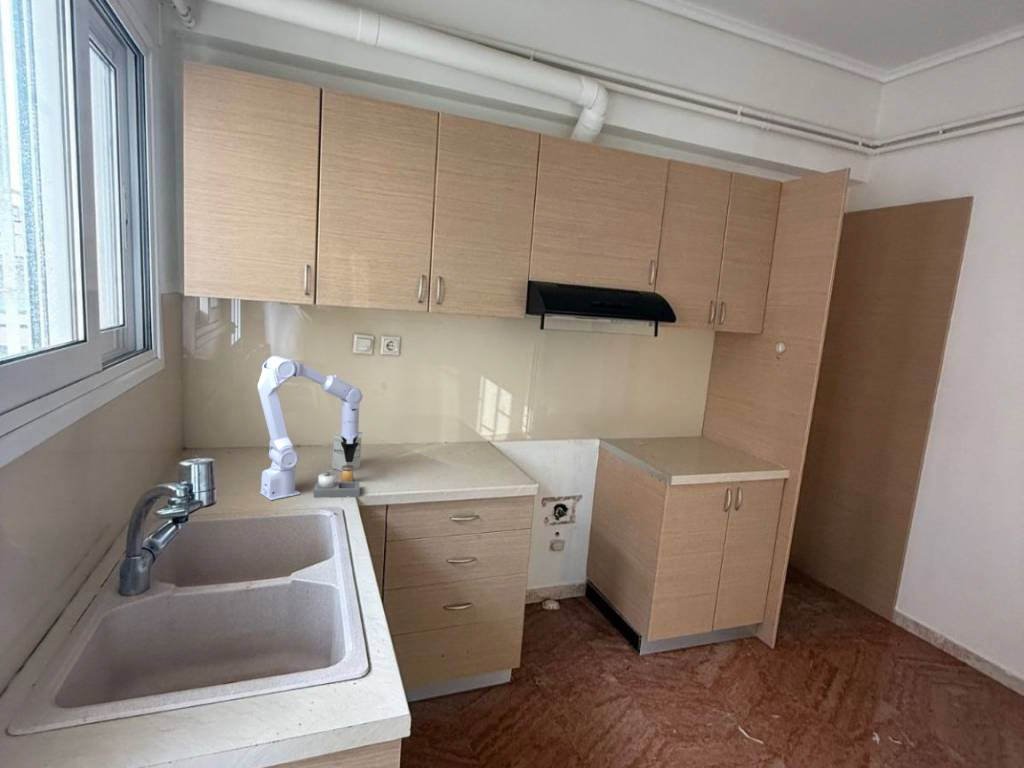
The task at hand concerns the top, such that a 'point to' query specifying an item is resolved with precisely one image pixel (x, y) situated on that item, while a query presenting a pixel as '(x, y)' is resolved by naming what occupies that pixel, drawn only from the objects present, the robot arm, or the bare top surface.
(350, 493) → the tray
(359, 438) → the supplement box
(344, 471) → the small orange jar
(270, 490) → the robot arm
